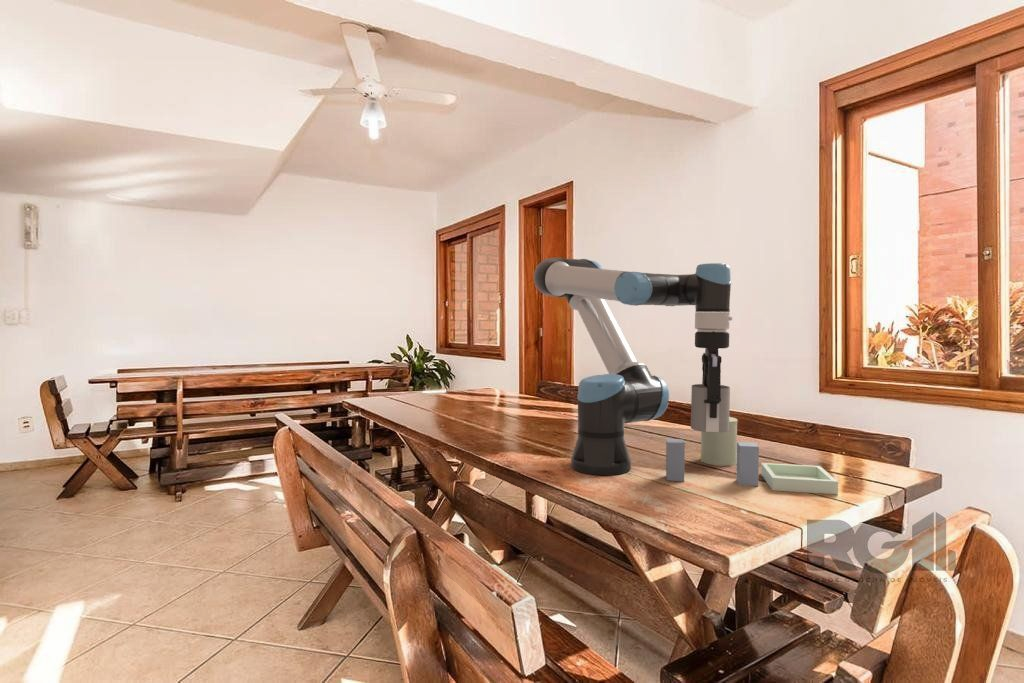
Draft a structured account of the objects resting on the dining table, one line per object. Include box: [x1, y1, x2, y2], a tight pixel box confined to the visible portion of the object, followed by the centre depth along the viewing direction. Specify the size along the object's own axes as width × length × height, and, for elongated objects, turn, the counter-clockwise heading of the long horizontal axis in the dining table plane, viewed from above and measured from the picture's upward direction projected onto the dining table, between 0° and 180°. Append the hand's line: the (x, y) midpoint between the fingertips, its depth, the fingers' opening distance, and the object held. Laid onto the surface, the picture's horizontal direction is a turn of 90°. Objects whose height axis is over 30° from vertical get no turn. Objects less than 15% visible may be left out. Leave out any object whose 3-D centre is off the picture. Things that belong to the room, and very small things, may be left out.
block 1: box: [665, 438, 686, 482], centre depth 131 cm, size 4×4×9 cm
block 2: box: [736, 441, 760, 487], centre depth 128 cm, size 4×4×9 cm
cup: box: [690, 383, 731, 433], centre depth 129 cm, size 8×8×10 cm
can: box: [700, 416, 738, 467], centre depth 147 cm, size 9×9×12 cm
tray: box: [760, 462, 839, 495], centre depth 127 cm, size 13×13×3 cm
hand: (709, 427), depth 129 cm, fingers closed on cup, 8 cm apart
